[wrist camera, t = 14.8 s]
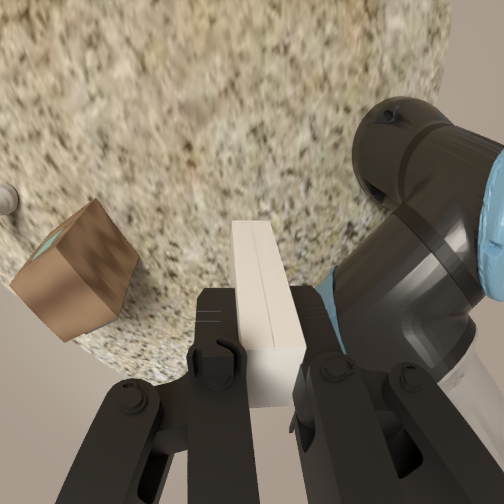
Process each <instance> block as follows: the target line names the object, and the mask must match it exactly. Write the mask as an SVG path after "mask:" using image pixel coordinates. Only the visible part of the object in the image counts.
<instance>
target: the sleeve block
mask: <svg viewBox="0 0 504 504" xmlns="http://www.w3.org/2000/svg"><path fill="white" fill-rule="evenodd" d="M63 228H65V229H64V230H63V231H62V232H61V234H60V235H59V236H58V237H57V239H56V240H55V241H54V242H53V244H52V245H51V246H50V247H48V248H47V249H46V250H45V251H43V252H42V253H41V254H40V255H38V256H37V257H36V258H35V259H34V260H32V259H33V257H34V256H35V255H36V254H37V252H38V251H39V250H40V249H41V247H42V246H43V245H44V244H45V242H47V241H48V240H49V239H50V238H52V237H53V236H54V235H55V234H57V233H58V232H59V231H60V230H62V229H63ZM138 259H139V255H138V254H137V253H136V251H135V250H134V249H133V247H132V246H131V245H130V244H129V242H128V241H127V240H126V238H125V237H124V236H123V235H122V233H121V232H120V231H119V229H118V228H117V227H116V225H115V224H114V223H113V221H112V220H111V219H110V217H109V216H108V215H107V213H106V212H105V211H104V209H103V208H102V207H101V205H100V204H99V202H98V201H97V200H96V198H95V199H93V200H92V201H91V202H89V203H88V204H87V205H85V206H84V207H83V208H81V209H80V210H79V211H77V212H76V213H75V214H74V215H72V216H71V217H70V218H68V219H67V220H66V221H65V222H63V223H62V224H61V225H60V226H58V227H57V228H56V229H55V230H53V231H52V232H51V233H50V234H49V235H48V236H47V237H46V238H45V239H44V241H43V242H42V243H41V244H40V246H39V247H38V248H37V249H36V250H35V252H34V253H33V254H32V255H31V257H30V258H29V259H28V261H27V262H26V263H25V264H24V266H23V267H22V268H21V270H20V271H19V272H18V274H17V275H16V276H15V278H14V279H13V280H12V282H11V283H10V285H9V286H10V287H11V288H12V290H13V291H14V292H15V293H16V294H17V295H18V296H19V297H20V298H21V300H22V301H23V302H24V303H25V304H26V305H27V306H28V307H29V308H30V309H31V310H32V311H33V312H34V313H35V314H36V315H37V316H38V318H39V319H40V320H41V321H43V322H44V324H45V325H47V327H49V328H50V329H51V330H52V331H53V332H54V333H55V334H56V335H57V336H58V337H59V338H60V339H61V340H62V341H63V342H67V341H69V340H71V339H73V338H75V337H78V336H80V335H82V334H84V333H86V332H88V331H90V330H92V329H94V328H96V327H98V326H101V325H103V324H105V323H107V322H109V321H111V320H113V319H115V318H117V317H118V315H119V312H120V309H121V306H122V303H123V300H124V297H125V294H126V292H127V289H128V286H129V283H130V280H131V278H132V275H133V272H134V269H135V267H136V264H137V261H138Z"/></svg>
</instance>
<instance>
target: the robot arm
mask: <svg viewBox="0 0 504 504" xmlns="http://www.w3.org/2000/svg"><path fill="white" fill-rule="evenodd" d="M352 162H353V168H354V172H355V175H356V178H357V180H358V182H359V184H360V185H361V187H362V188H363V189H364V191H365V192H366V193H367V194H368V195H369V196H370V197H371V198H372V199H373V200H375V201H376V202H377V203H378V204H380V205H381V206H383V207H385V208H387V209H390V210H393V211H394V212H393V213H391V214H390V215H389V216H388V217H387V218H386V219H385V220H384V221H383V222H382V223H381V225H380V226H379V227H378V228H377V229H375V230H374V231H373V232H372V233H371V234H370V235H369V236H368V237H367V238H366V239H365V240H364V241H363V242H362V243H361V244H360V245H359V246H358V247H357V248H356V249H355V250H354V251H353V252H352V253H351V254H350V255H349V256H348V257H347V258H346V259H345V260H344V261H343V262H342V263H340V264H339V265H337V266H334V267H333V268H332V269H331V270H330V272H329V275H328V276H327V277H326V278H325V279H324V280H323V281H322V282H321V283H320V284H319V285H318V286H317V287H316V288H315V289H314V288H313V287H312V286H311V285H310V286H289V284H288V281H287V278H286V274H285V271H284V267H283V264H282V261H281V257H280V254H279V251H278V247H277V244H276V241H275V238H274V234H273V231H272V228H271V225H270V221H232V232H231V288H204V289H203V291H202V292H201V293H200V295H199V296H198V298H197V307H196V322H195V338H194V344H193V345H192V346H191V347H190V348H189V350H188V353H187V356H186V358H187V364H188V372H187V373H186V374H185V375H184V376H182V377H181V378H179V379H178V380H175V381H172V382H169V383H165V384H161V385H157V386H153V385H152V384H151V383H149V382H147V381H145V380H142V379H135V378H130V379H126V380H122V381H120V382H118V383H117V384H115V385H114V386H113V387H112V388H111V389H110V390H109V391H108V393H107V395H106V397H105V399H104V400H103V402H102V404H101V406H100V408H99V410H98V412H97V414H96V416H95V418H94V420H93V422H92V424H91V426H90V428H89V430H88V433H87V434H86V437H85V439H84V441H83V443H82V445H81V447H80V449H79V451H78V453H77V455H76V458H75V460H74V462H73V464H72V466H71V468H70V471H69V473H68V475H67V477H66V480H65V482H64V484H63V486H62V489H61V491H60V493H59V495H58V498H57V500H56V503H55V504H158V503H159V500H160V497H161V494H162V491H163V488H164V485H165V482H166V478H167V475H168V472H169V469H170V466H171V463H172V460H173V457H174V454H175V453H177V452H181V451H185V450H188V463H187V464H188V465H187V473H188V474H187V477H188V479H187V483H188V504H260V500H259V491H258V483H257V474H256V466H255V457H254V449H253V439H252V430H251V422H250V411H249V408H260V407H276V406H288V405H290V404H291V400H292V397H293V401H294V406H295V412H294V415H293V418H292V421H291V424H290V427H289V433H293V431H294V429H295V435H296V440H297V445H298V450H299V456H300V461H301V467H302V472H303V477H304V483H305V488H306V493H307V499H308V504H504V396H503V394H502V392H501V391H500V389H499V387H498V386H497V384H496V383H495V381H494V379H493V378H492V376H491V375H490V373H489V372H488V370H487V369H486V367H485V366H484V364H483V363H482V361H481V360H480V358H479V357H478V355H477V354H476V352H475V346H476V341H477V336H478V328H477V326H476V324H475V323H474V322H473V320H472V319H471V318H470V316H469V315H468V313H469V312H470V311H471V309H472V308H473V307H474V306H475V305H477V304H478V303H479V302H480V300H482V299H483V298H484V297H485V296H486V295H487V296H488V298H491V299H494V300H496V301H500V302H501V301H504V145H502V144H500V143H498V142H496V141H493V140H491V139H489V138H486V137H484V136H481V135H479V134H476V133H474V132H471V131H469V130H466V129H463V128H461V127H458V126H455V125H454V124H453V123H452V122H451V121H450V120H448V118H447V117H445V116H444V115H443V114H442V113H441V112H440V111H439V110H438V109H437V108H436V107H434V106H433V105H431V104H429V103H427V102H425V101H423V100H419V99H415V98H411V97H393V98H389V99H387V100H384V101H382V102H380V103H379V104H377V105H376V106H375V107H373V108H372V109H371V110H370V111H369V112H368V113H367V114H366V116H365V117H364V118H363V120H362V121H361V123H360V125H359V127H358V129H357V131H356V134H355V137H354V142H353V148H352Z"/></svg>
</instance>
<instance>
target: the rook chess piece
mask: <svg viewBox="0 0 504 504" xmlns="http://www.w3.org/2000/svg"><path fill="white" fill-rule="evenodd" d="M17 204H18V196H17V193H16V191H15V189H14V188H13V187H12V186H10V185H8V184H1V185H0V215H8V214H10V213H12V212H13V211H14V210H15V209H16V207H17Z"/></svg>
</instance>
